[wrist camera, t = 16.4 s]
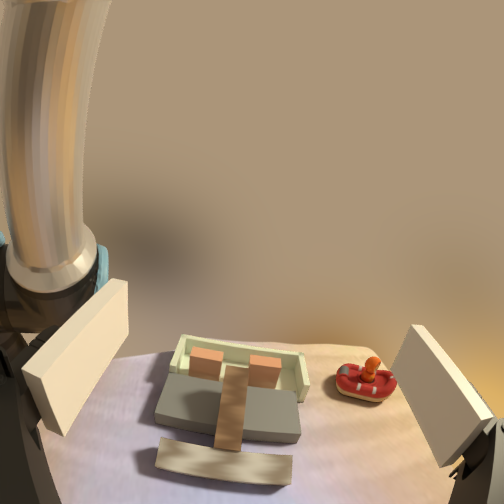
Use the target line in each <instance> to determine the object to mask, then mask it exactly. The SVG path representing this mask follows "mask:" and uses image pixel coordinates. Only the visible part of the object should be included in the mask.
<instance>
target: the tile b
mask: <svg viewBox="0 0 504 504" xmlns="http://www.w3.org/2000/svg"><path fill="white" fill-rule="evenodd" d="M247 368H249V377H248V386H252V387H260V388H268V389H275V388H276V385H277V381H278V378H279V375H280V372H281V368H282V367H281V358H273V357H265V356H258V355H251V354H250V358H249V363H248V367H247Z"/></svg>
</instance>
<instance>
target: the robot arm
mask: <svg viewBox="0 0 504 504" xmlns="http://www.w3.org/2000/svg"><path fill="white" fill-rule="evenodd" d="M2 1H3V4H4V6H5V8H4V13H3V18H2V23H1V28H0V187H1V193H2V198H3V204H4V208H5V214H6V218H7V223H8V226H9V231H10V235H11V240H10V242H9V244H5V237H4V235H3V233H2V232H1V231H0V504H62V503H61V501H60V498H59V496H58V493H57V490H56V488H55V485H54V482H53V479H52V476H51V473H50V470H49V466H48V463H47V460H46V456H45V453H44V449H43V445H42V441H41V437H40V433H39V429H38V427H37V423H38V422H39V420H40V419H42V421H43V423H44V425H45V427H46V429H48V430H50V431H52V432H55V433H57V434H59V435H61V436H63V437H65V435H66V434H67V432H68V430H69V428H70V427H71V425H72V423H73V422H74V420H75V418H76V416H77V415H78V413H79V411H80V410H81V408H82V406H83V405H84V403H85V401H86V400H87V398H88V397H89V395H90V393H91V392H92V390H93V388H94V387H95V385H96V384H97V382H98V380H99V379H100V377H101V376H102V374H103V372H104V371H105V369H106V368H107V366H108V365H109V363H110V361H111V360H112V358H113V357H114V355H115V354H116V352H117V351H118V349H119V348H120V346H121V345H122V343H123V341H124V340H125V339H126V337H127V335H128V334H129V329H128V298H127V297H128V295H127V294H128V293H127V291H128V290H127V289H128V286H127V281H123V280H118V279H114V278H112V279H111V280H110V281H108V251H107V249H106V247H104V246H101V245H99V244H96V241H95V237H94V235H93V233H92V232H91V230H90V229H89V228H88V227H87V226H86V225H85V224H84V223H83V206H82V205H83V203H82V202H83V201H82V199H83V159H84V143H85V130H86V121H87V113H88V112H87V111H88V105H89V97H90V90H91V84H92V78H93V73H94V67H95V62H96V57H97V53H98V48H99V44H100V40H101V35H102V31H103V28H104V24H105V20H106V17H107V13H108V10H109V6H110V3H111V2H112V0H2ZM21 333H40V334H39V335H38V336H37V337H36V338H35V339H34V340H32V341H31V342H30V343H29V346H28V344H27V343H26V341H25V340H24V338H23V336H22V335H21ZM390 370H391V372H392V374H393V375H394V377H395V379H396V381H397V383H398V385H399V387H400V388H401V390H402V392H403V394H404V396H405V398H406V400H407V402H408V404H409V406H410V408H411V410H412V412H413V414H414V416H415V418H416V420H417V422H418V424H419V426H420V428H421V430H422V432H423V434H424V436H425V438H426V440H427V442H428V444H429V446H430V448H431V450H432V453H433V455H434V457H435V459H436V461H437V463H438V466H439V468H442V467H445V466H448V465H452V464H453V463H454V462H455V461H456V460H457V459H458V458H459V457H460V456H461V455H463V457H464V460H463V461H462V462H461V464H459V466H457V467H456V468H455V469H454V470H453V471H452V472H451V473H450V475H449V477H450V478H451V477H452V476H453V475H454V474H455V473H456V472H458V473H457V475H456V476H455V477H454V478H453V479H455V480H456V481H455V484H454V488H453V491H452V494H451V497H450V500H449V503H448V504H504V418H501V419H499V420H498V419H497V417H496V416H495V415H494V413H493V412H492V410H491V409H490V407H489V406H488V405H487V403H486V402H485V401H484V399H482V397H481V395H480V394H479V393H477V390H476V389H475V387H474V386H473V384H472V383H470V382H469V381H468V380H467V379H466V378H465V377H464V375H463V374H462V373H461V372H460V370H459V369H458V368H457V366H456V365H455V364H454V363H453V361H452V360H451V359H450V358H449V356H448V355H447V354H446V353H445V352H444V350H443V349H442V348H441V347H440V345H439V344H438V343H437V342H436V340H435V339H434V338H433V337H432V336H431V334H430V333H429V332H428V331H427V330H426V329H425V328H424V326H423V325H411V326H410V328H409V330H408V333H407V335H406V337H405V339H404V341H403V344H402V346H401V348H400V350H399V352H398V354H397V356H396V358H395V360H394V363H393V365H392V367H391V369H390Z"/></svg>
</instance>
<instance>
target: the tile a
mask: <svg viewBox="0 0 504 504" xmlns="http://www.w3.org/2000/svg"><path fill="white" fill-rule="evenodd" d="M223 354H224V352H221V351H215V350H210V349H204V348H199V347H194V346H193V348H192V351H191V354H190V361H189V375H188V376H191V377H196V378H201V379H207V380H212V381H218V382H219V379H220V373H221V366H222V360H223Z"/></svg>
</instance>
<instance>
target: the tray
mask: <svg viewBox="0 0 504 504" xmlns="http://www.w3.org/2000/svg"><path fill="white" fill-rule="evenodd" d="M193 346H194V347H199V348H204V349H210V350H215V351H221V352H224V354H223V360H222V366H221V373H220V379H219V382H223V380H224V374H225V368H226V365H230V366H237V367H243V368H247V367H248V363H249V358H250V354H251V355H258V356H265V357H273V358H281V367H282V368H281V372H280V375H279V378H278V381H277V385H276V388H275V389H278V390H288V391H296V398H297V402H304V400H305V397H306V395H307V392H308V390H309V387H310V382H309V377H308V372H307V367H306V363H305V358H304V353H302V352H293V351H285V350H277V349H269V348H262V347H255V346H248V345H241V344H235V343H229V342H223V341H217V340H211V339H206V338H200V337H195V336H190V335H185V334H182V335H181V338H180V340H179V343H178V345H177V348H176V350H175V353H174V355H173V358H172V360H171V363H170V369H169V372H172V373H177V374H181V375H186V376H188V375H189V361H190V354H191V351H192V348H193Z"/></svg>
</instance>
